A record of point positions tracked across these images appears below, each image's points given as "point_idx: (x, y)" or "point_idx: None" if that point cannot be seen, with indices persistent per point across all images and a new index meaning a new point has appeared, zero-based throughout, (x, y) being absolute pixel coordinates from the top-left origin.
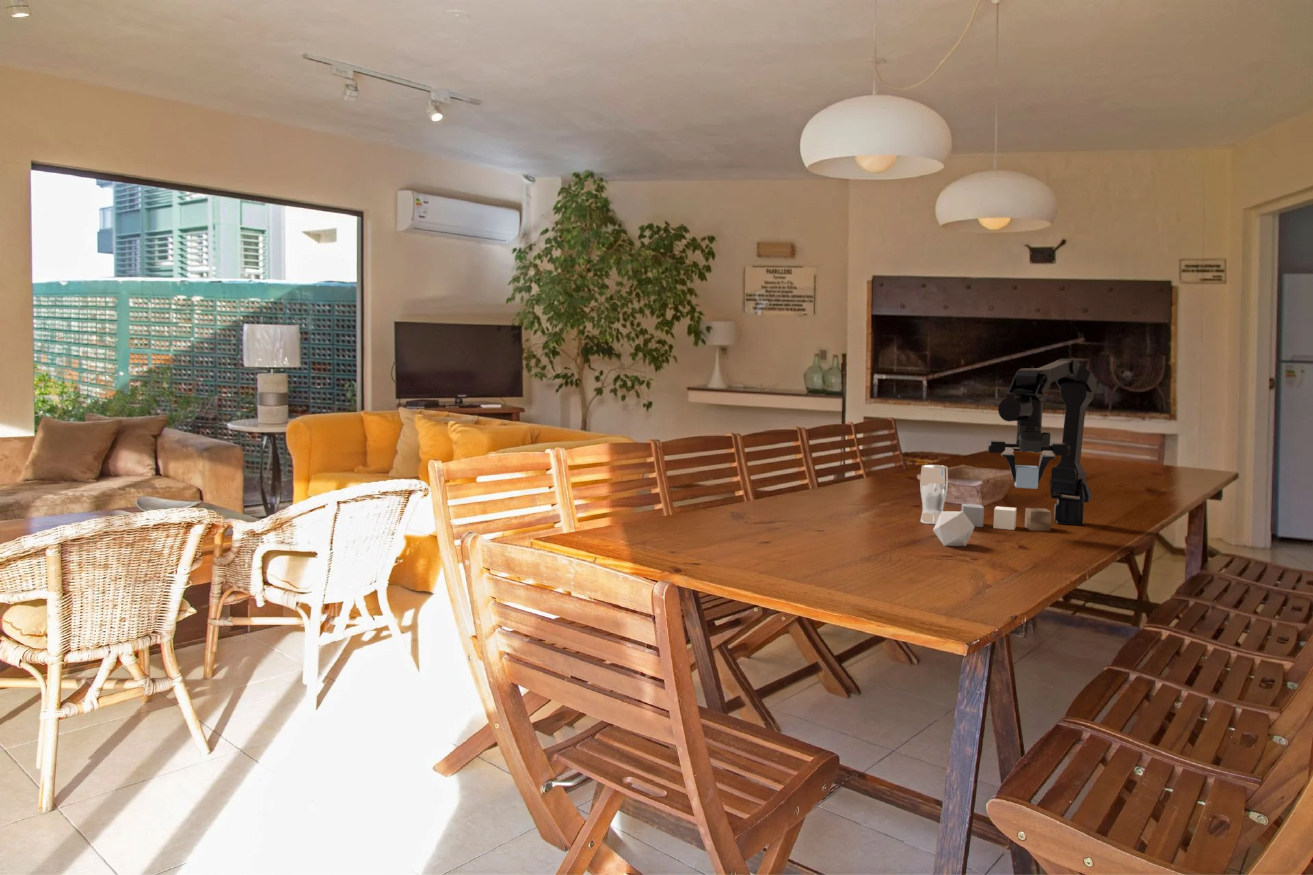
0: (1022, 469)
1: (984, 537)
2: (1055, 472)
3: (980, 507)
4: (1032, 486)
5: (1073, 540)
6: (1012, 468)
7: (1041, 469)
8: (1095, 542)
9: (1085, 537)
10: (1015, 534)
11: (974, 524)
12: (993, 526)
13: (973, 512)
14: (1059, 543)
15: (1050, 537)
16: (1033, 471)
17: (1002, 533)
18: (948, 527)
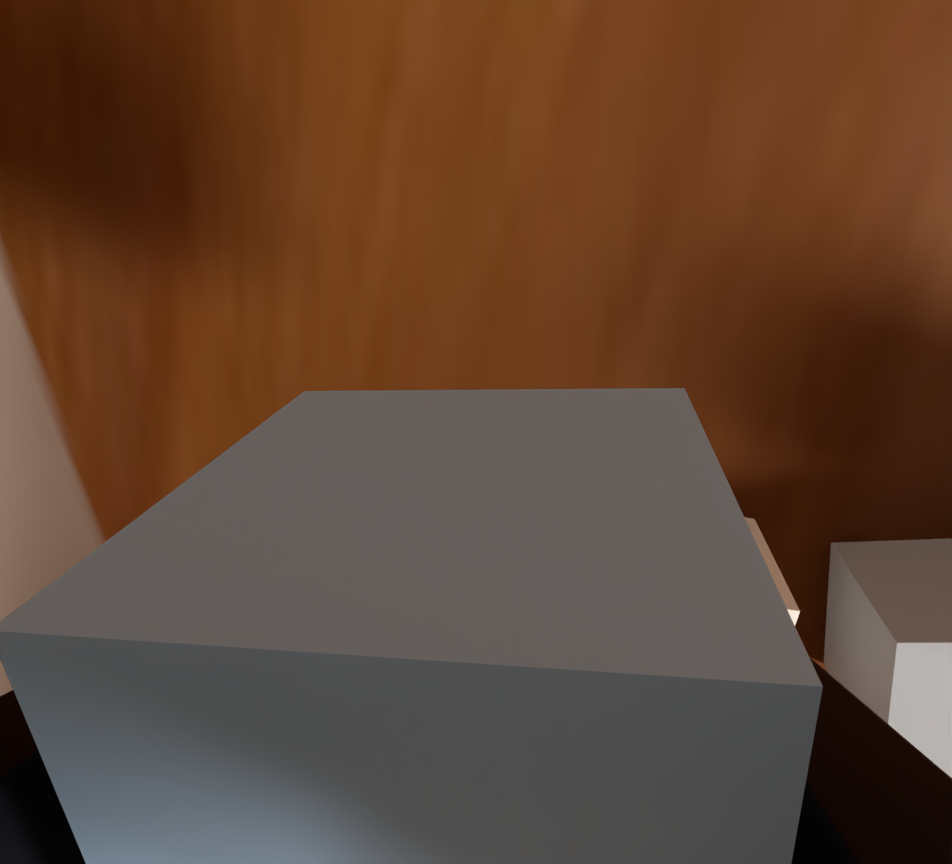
0: (570, 612)
1: (928, 15)
2: None
3: (928, 662)
4: (379, 401)
5: (200, 229)
6: (924, 812)
7: (5, 728)
8: (64, 215)
9: (147, 383)
10: (608, 306)
11: (909, 548)
12: (756, 523)
13: None
14: (278, 33)
15: (354, 285)
16: (219, 562)
17: (712, 309)
18: None
